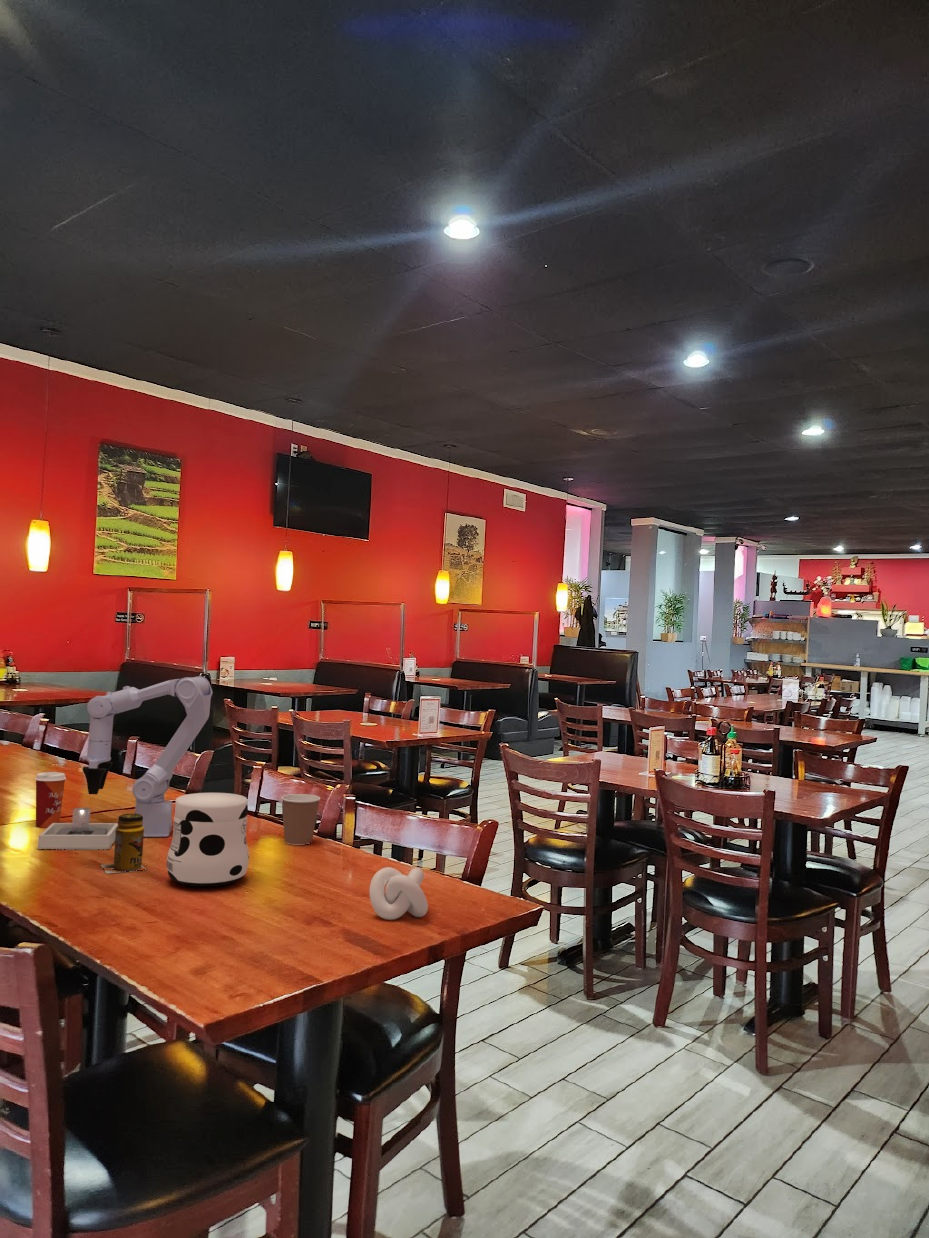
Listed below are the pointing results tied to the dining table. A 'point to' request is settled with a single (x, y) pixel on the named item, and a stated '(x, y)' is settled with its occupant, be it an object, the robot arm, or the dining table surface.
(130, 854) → the condiment
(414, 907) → the white knot sculpture
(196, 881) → the milk container
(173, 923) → the dining table surface
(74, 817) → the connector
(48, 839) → the box
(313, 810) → the coffee cup
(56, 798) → the paper cup
